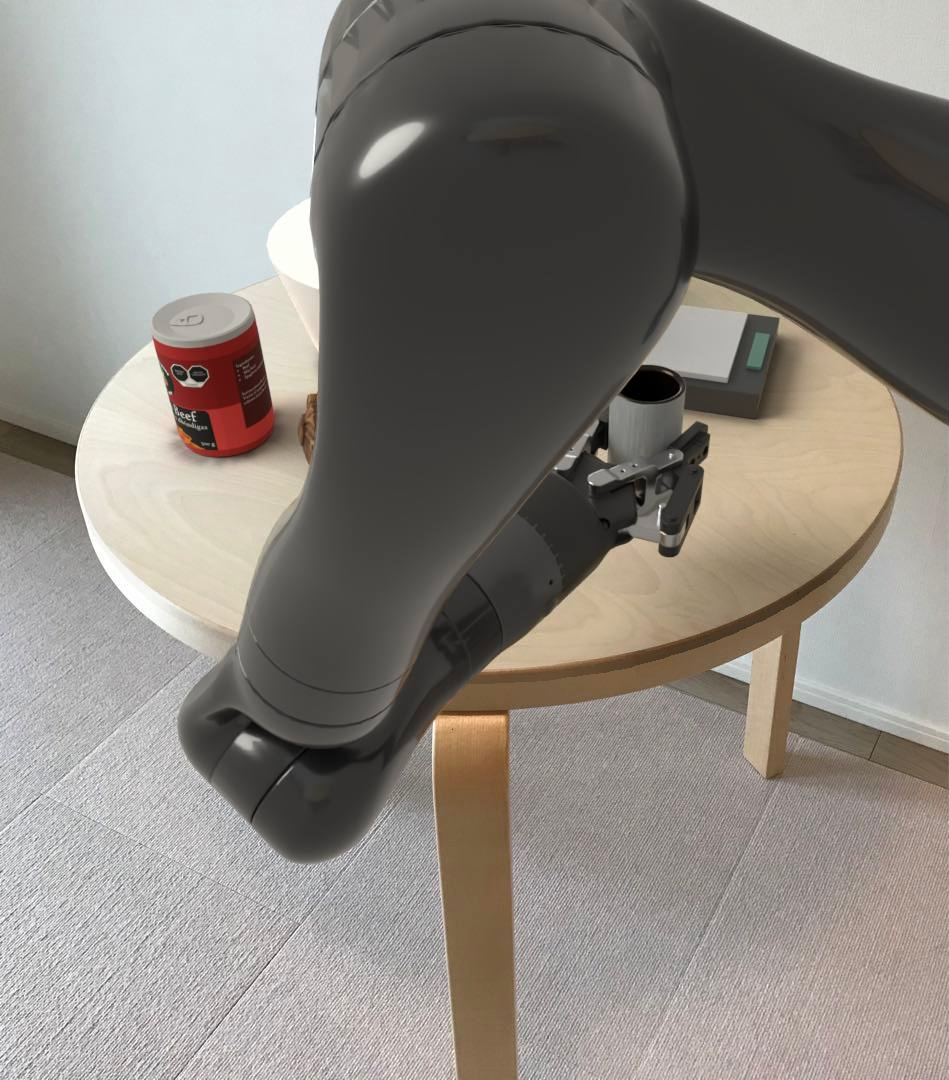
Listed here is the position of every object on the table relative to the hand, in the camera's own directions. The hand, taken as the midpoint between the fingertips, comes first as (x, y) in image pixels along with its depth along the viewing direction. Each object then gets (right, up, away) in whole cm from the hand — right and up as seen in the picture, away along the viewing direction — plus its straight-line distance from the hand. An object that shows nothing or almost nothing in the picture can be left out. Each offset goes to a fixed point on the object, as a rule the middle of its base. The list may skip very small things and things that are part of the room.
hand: (666, 421), depth 69 cm
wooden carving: (-23, -5, +13) cm, 26 cm away
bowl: (-17, +9, +29) cm, 35 cm away
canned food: (-33, +1, +21) cm, 39 cm away
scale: (+7, +7, +25) cm, 27 cm away
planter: (-1, -6, +2) cm, 7 cm away
